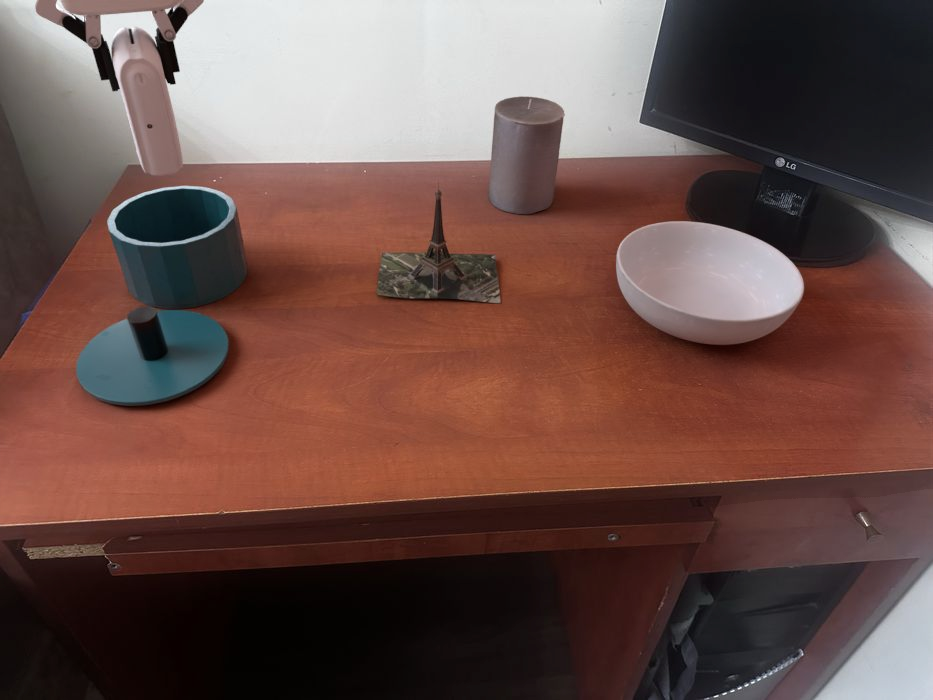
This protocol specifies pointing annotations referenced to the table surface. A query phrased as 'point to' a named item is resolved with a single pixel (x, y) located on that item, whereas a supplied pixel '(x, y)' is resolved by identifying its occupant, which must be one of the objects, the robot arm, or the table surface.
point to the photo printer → (146, 101)
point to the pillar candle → (525, 154)
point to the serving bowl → (707, 282)
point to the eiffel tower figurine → (439, 271)
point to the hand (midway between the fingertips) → (142, 81)
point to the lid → (152, 357)
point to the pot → (179, 246)
